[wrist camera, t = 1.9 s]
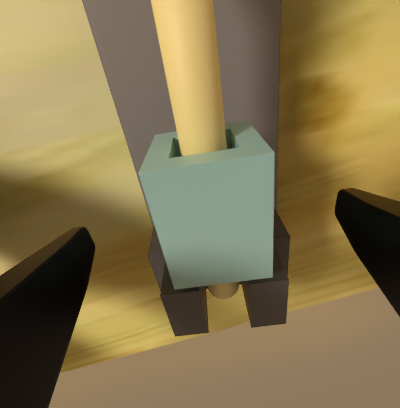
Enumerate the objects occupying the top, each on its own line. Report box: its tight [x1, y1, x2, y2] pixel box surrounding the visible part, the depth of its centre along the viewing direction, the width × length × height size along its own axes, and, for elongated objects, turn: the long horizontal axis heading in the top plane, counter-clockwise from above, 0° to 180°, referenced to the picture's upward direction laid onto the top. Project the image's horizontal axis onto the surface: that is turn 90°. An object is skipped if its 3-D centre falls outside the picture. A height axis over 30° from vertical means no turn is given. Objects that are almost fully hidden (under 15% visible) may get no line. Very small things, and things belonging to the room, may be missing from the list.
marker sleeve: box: [138, 120, 275, 290], centre depth 10 cm, size 5×4×4 cm
